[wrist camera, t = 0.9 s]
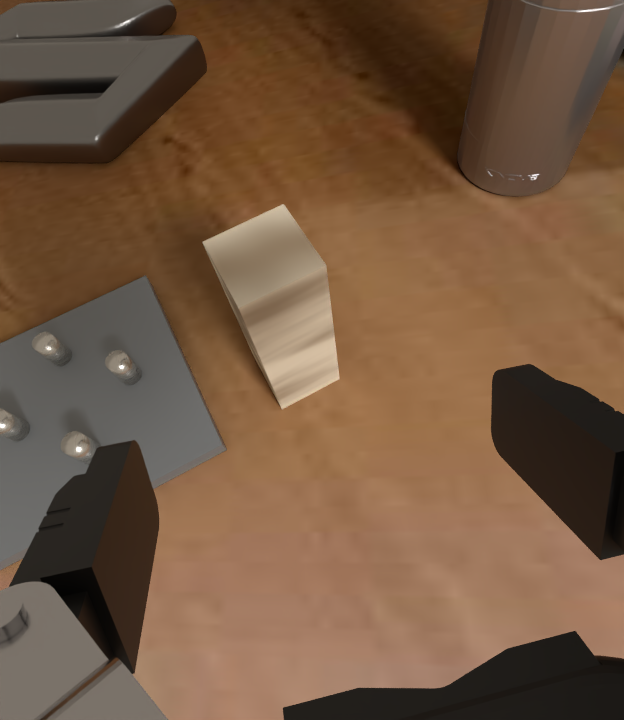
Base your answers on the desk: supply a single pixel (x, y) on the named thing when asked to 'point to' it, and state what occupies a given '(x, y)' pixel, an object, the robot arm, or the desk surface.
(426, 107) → the desk surface
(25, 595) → the robot arm
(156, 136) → the desk surface
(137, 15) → the emblem
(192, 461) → the slate base plate
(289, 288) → the birch post
